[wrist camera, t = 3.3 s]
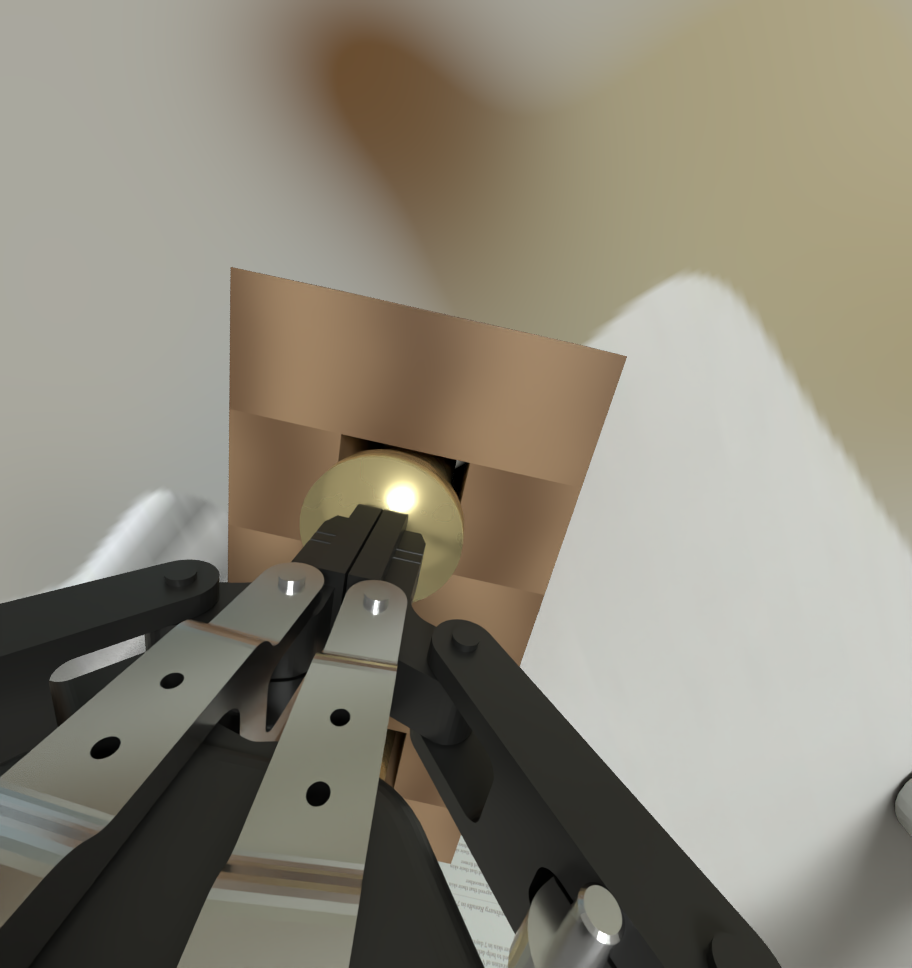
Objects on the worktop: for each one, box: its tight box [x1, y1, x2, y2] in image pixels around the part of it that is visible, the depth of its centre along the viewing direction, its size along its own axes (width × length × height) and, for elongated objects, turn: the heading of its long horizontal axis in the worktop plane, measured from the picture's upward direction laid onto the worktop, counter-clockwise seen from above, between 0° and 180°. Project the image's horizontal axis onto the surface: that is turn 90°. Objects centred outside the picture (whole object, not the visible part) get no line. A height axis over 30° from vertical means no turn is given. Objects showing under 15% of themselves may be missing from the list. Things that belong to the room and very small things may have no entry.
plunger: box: [300, 444, 464, 602], centre depth 17 cm, size 5×5×8 cm
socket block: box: [228, 267, 627, 864], centre depth 21 cm, size 12×26×8 cm, turn 168°
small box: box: [438, 835, 515, 968], centre depth 25 cm, size 8×6×13 cm
